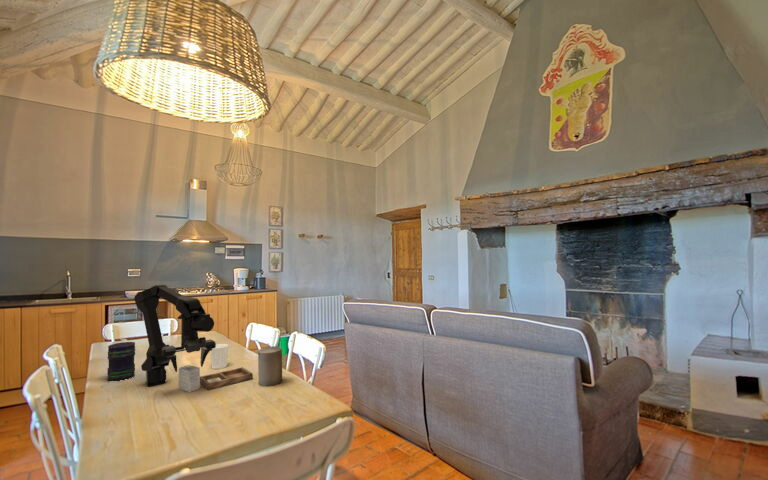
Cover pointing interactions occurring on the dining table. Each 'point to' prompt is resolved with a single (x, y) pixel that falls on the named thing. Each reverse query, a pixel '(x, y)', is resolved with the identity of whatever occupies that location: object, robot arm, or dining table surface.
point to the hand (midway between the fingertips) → (189, 369)
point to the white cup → (219, 356)
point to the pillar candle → (270, 366)
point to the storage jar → (121, 361)
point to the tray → (225, 378)
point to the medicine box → (189, 378)
